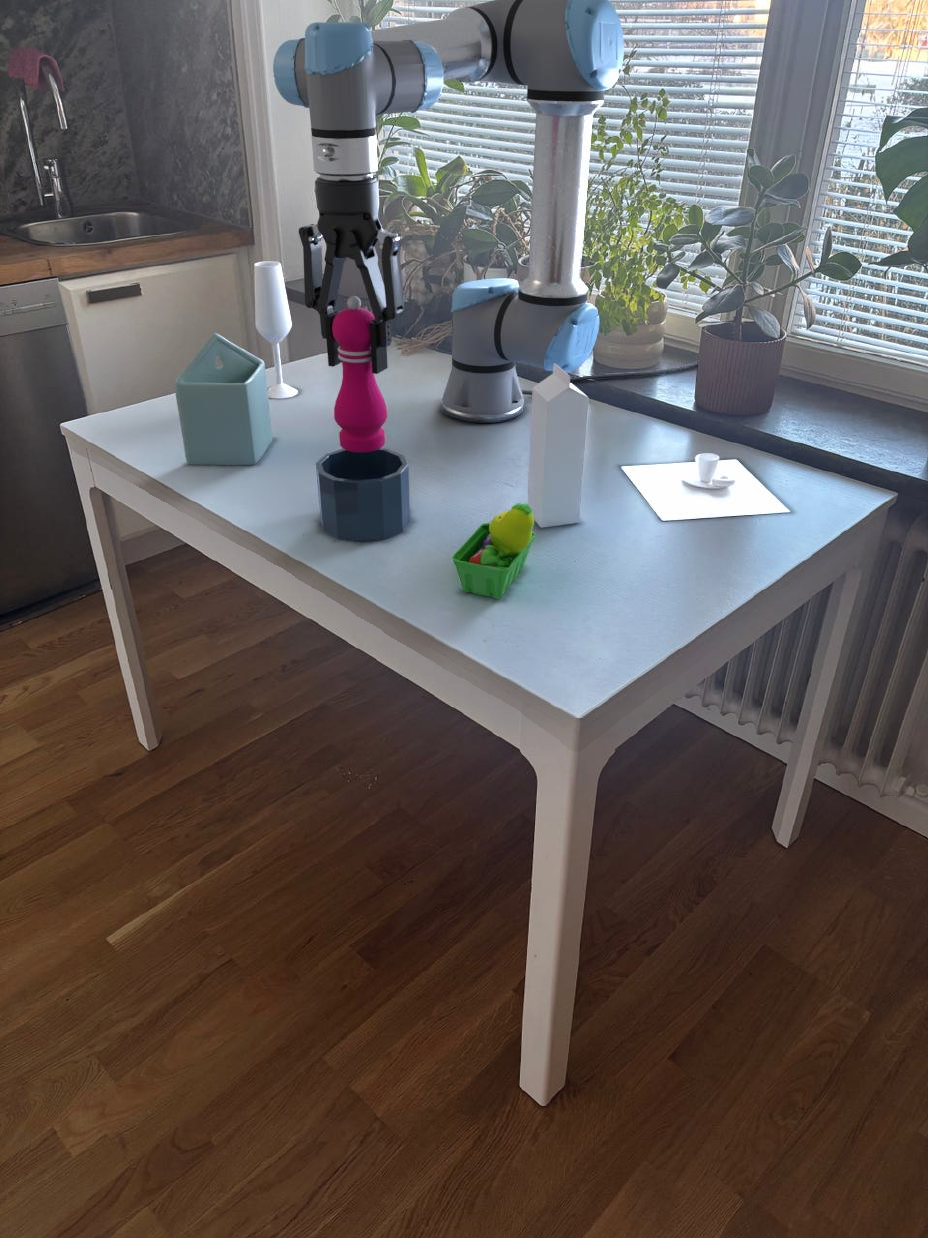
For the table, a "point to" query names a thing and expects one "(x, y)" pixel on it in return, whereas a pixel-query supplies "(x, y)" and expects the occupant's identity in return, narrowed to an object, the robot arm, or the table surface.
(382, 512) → the crock
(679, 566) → the table surface
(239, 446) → the planter
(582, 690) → the table surface
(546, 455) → the milk
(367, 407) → the pepper mill
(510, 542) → the fruit basket
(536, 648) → the table surface
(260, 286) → the champagne flute
